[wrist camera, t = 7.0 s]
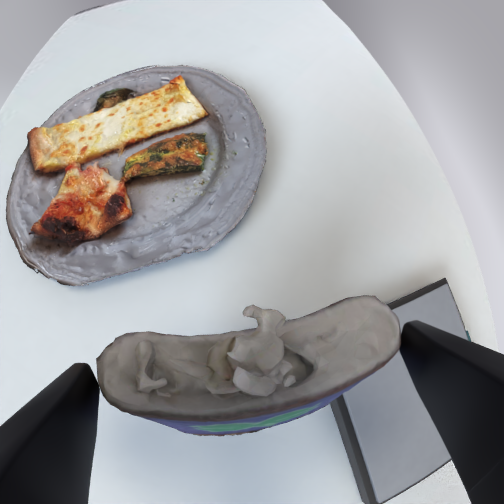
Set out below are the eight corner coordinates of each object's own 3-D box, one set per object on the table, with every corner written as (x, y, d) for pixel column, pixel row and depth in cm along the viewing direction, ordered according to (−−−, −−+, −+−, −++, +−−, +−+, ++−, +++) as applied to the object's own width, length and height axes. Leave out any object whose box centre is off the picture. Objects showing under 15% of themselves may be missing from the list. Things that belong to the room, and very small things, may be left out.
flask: (328, 362, 16) (412, 250, 7) (342, 410, 14) (457, 350, 6) (164, 391, 15) (57, 309, 6) (171, 442, 13) (54, 426, 5)
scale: (481, 423, 18) (498, 424, 15) (362, 501, 16) (374, 511, 13) (437, 282, 22) (452, 273, 20) (306, 337, 20) (315, 333, 18)
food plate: (14, 316, 19) (-11, 305, 16) (30, 127, 28) (19, 108, 24) (303, 234, 23) (313, 211, 20) (224, 67, 32) (224, 43, 28)
